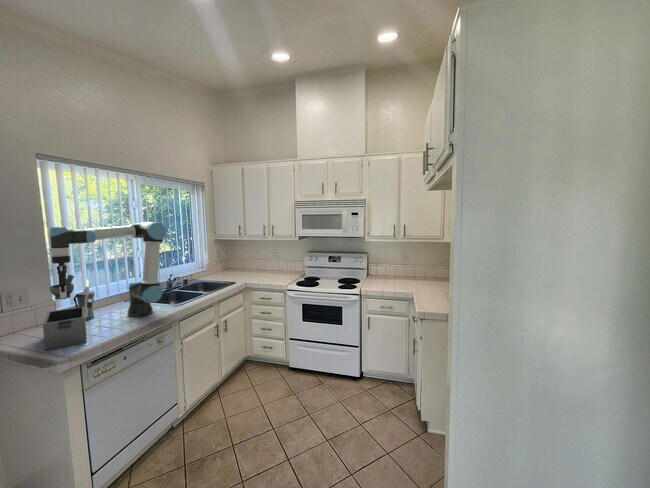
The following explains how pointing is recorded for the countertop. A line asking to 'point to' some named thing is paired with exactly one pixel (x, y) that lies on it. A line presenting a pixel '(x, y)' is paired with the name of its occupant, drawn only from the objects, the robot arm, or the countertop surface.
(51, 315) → the storage box
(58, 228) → the robot arm
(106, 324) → the countertop surface
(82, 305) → the moka pot
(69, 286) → the mortar and pestle
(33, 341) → the countertop surface
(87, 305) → the cream box lid
